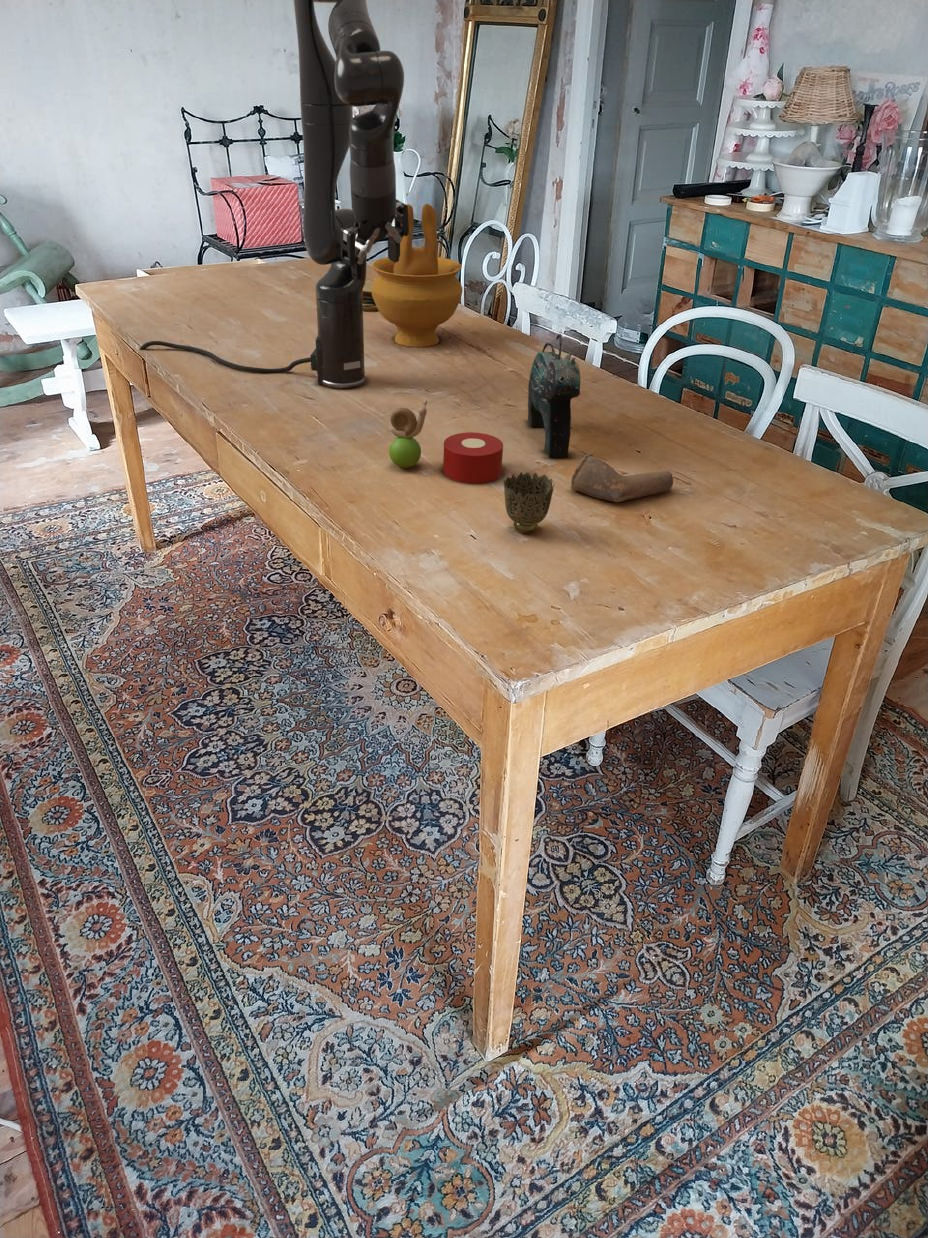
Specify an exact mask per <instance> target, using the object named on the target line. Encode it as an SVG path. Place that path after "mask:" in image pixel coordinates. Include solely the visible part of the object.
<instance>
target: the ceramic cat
mask: <svg viewBox="0 0 928 1238" xmlns="http://www.w3.org/2000/svg"><path fill="white" fill-rule="evenodd" d="M555 338H556V341H557V340H558V339H559V350H558V353H556V351H555V348H554V346H553V344H552V343H551V342H546V343H544V345H543V348H542V351H539V352H537V354H536V355H535V356H534V359H533V362H532V365H531V368H530V369H531V370H530V374H529V379H528V384H527V385H528V387H527V391H528V392H527V421H528V425H529V426H530V427H531V428H544V435H545V436H544V452H545V453H546V454H547V457H548V458H550V459H559V458H568V456H569V447H570V441H571V435H572V433H571V432H572V431H571V429H572V428H571V426H572V409H571V402H572V400H573V399H574V398H578V397H579V396H580V395H581V371H580V367H579V364H578V363H577V361H576V357H572V358H571V356H572V352H570V353H568V354H567V355H566V356H565V357H564V358H562V355H561V354H562V346H563V339H562V334H561V333H558V334H557V336H556V337H555ZM548 346H549V347H550V348H551V351H546V349H547V347H548Z"/></svg>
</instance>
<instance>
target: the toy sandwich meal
mask: <svg viewBox="0 0 928 1238" xmlns="http://www.w3.org/2000/svg"><path fill="white" fill-rule="evenodd" d="M373 281H374V280H369V279H366V281H365V285H364V287H363V312H364V311H365V312H373V311H379V310H378V308H377V306H376V304H375V302H374V299H373V297H372V293H371V285H372V283H373Z"/></svg>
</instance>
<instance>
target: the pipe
mask: <svg viewBox="0 0 928 1238" xmlns="http://www.w3.org/2000/svg"><path fill="white" fill-rule="evenodd" d="M673 485H674V477H673V473H672V472H671V471H669V470H658V471H647V472H641V473H633V474H630V475H624V474H620V473H619V472H618V471H617V470H615V468H613V467H611V466H610V465H608V464H607V463H606V461H603V460H602V459H600V458H597V457H595V455H594V454H592V453H587V454H585V455H584V456H583V457H582V458H581V460H580V461H579V462H578V465H577V466H576V469H575V470H574V473H573V474H572V477H571V486H570V488H571V489H572V490H573V491H574V492H580V493H582V494H585V495H588V496H590V497H592V498H594V499H595V498H596V499H600V500H604V501H609V502H613V503H621V502H624V501H628V500H634V499H639V498H643V497H647V496H651V495H657V494H662V493H666V492H669V491H670V490H671V489H672V488H673Z"/></svg>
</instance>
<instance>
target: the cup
mask: <svg viewBox="0 0 928 1238" xmlns="http://www.w3.org/2000/svg"><path fill="white" fill-rule="evenodd" d="M503 487H504V488H503V489H504V503H505V510H506V513H507V516H508V518H509V519H510V520H511V521H512V522H513V527H514V530H515V531H516V532H518V533H521V534H527V535H528V534H533V533H535V532H536V531H537V529H538V528H539V523H541V522H542V521H544V519H545V518H546V516H547V515H548V512H549V509H550V505H551V502H552V497H553V493H554V488H555V484H553V479H552V478H549V477H548V476H547V475H546V474H542V475H541V476H539V475H538V473H537V472H534V473H533V474H532V475H531V473H529V472H528V471H526V472H522V471H521V472H520V473H519V474H518V475H517V476H516V475H515V473H512V474H511V477H510V476H508V475H506V476H505V479H504V480H503Z"/></svg>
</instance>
